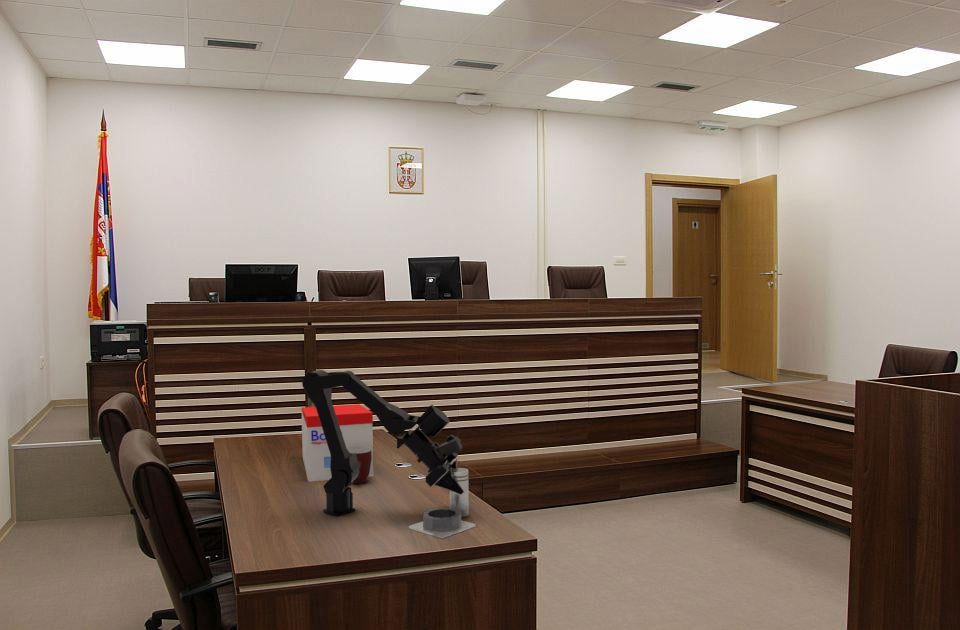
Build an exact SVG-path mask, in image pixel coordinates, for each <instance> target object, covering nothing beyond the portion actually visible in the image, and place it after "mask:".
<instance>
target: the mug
mask: <svg viewBox="0 0 960 630" xmlns="http://www.w3.org/2000/svg"><path fill="white" fill-rule="evenodd" d="M348 451H349V452H350V454H351V455H352V454H354V453H356V455H357V461H358V463H359V464H360V467H359V474H358V476H357V478H356V479H355V480H354V481H353V483H352V484H355V485H356V484H357V485H359V484H360V485H361V484H365V483H366V481H367V479H368V478H369V477H368V476H369V473H370V466H371V459H372V452H371V449H369V448H353V449H348Z"/></svg>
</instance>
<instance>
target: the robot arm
mask: <svg viewBox="0 0 960 630" xmlns="http://www.w3.org/2000/svg"><path fill="white" fill-rule="evenodd" d="M301 385H302V388H303V390H304V392H305V394H306V396H307V399H308V398H309V399H310V400H311V401H312V402H313V404H314V405H315V407H316V410H317V413H318V416H319V419H320V423H321V426H322V429H323V432H324V435H325V438H326V442H327V445H328V448H329V451H330V454H331V462H330V469H331V476H332V478H331V479H330V480H327V481H326V482H325V483H324V485H323V490H324V492H325V498H326V501H325V502H326V503H325V504H326V508H324V509H323V510H322V512H324V513H326V514H329V515H332V516H336V517H339V516H341V515H346V514H348V513H352V512H355V511H356V508H354V507H353V506H354V498H353V495H354V493H353V492H352V487H351V486H352V485H353V484H354V483H353V481H354V480H355V479H356V478H357V476H358V474H359V467H360V464H359V463H358V461H357V455H356V453H354V454H352V455H351V454H350V452H349V451H348V450H347V448H346V445H345V442H344V439H343V436H342V432H341V429H340V426H339V423H338V420H337V417H336V413H335V410H334V407H333V406H334V404H333V401H332V393H333V389H335V388H339V387H341V388H344V389H345V390H346V391H347V392H349V393H350V394H351V395H352V396H353V397H354V398H355V399H357V400H358V401H360V403H362V404H363V406H364V407H365V408H367V409H368V410H369V411H371V412H372V413H374V414H375V416H376V417H377V418H378V420H379V422H380V424H381V425H382V427H383V428H384V429H385V430H386V431H387V432H388V433H389V434H390V435H392V436H397V437H396V449H398V450H399V449H400V448H401V447H403V445H404V446H406V447H407V449H408V450H409V451H410V452H411V453H413V455H414V456H415V457H416V458H417V460H416V461H417V462H418V463H419V464H420V463H421V464H423V465H424V466H425V467H426V469H428V471H427V475H426V476H425V483H426V485H428V486H429V487H430V488H432V487H433V485H434V486H436V487H440V488H442V489H445V490H449V491H450V490H451V491H453V492H456V493H459V494H462V493H463V492H464V491H463V489H462V488H461V486H460V485H459V484H458V482H457V481H456V479H455V478H454V477H453V475H452V469H453V468H458V459H457V457H458V456H459V454H458V453H459V452H461V451H462V449H463V445H462V442H461V441H462V440H461V439H460V438H459V437H458V436H455V434H451V435H448V436H446V442H443V443H441V444H439V443H438V442H437V441H434V442H433V441H432V440H431V439H430V437H436V436H437V435H438V434H439V433H440V432H441V431H442V430H443V429H445V428H446V426H447V425H448V424H449V423H450V419H449V417H448V415H446V413H445V412H444V411H442V410H441V409H439V408H437V407H435V406H434V404H430V405H429V406H428V407H427V408H426V410H425V411H424V412H423V413H422V414H421V415H420V416H418V415H413V414H409V413H408V412H407V411H405V410H404V409H402V408H400V407H399V406H397V405H395V404H392V403H390V402H388V401H386V400H385V399H384V398H382V397H381V396H380V395H379V394H378V393H377V392H375V391H374V390H373V389H372V388H371V387H370V386H368V385H367V384H366V383H364V382H363V380H361V379H360V378H359V377H357V375H355V373H354V372H353V371H352V370H345V371H329V372H328V371H325V370H323V369H316V370H314V371H310V372H309V373H308V372H307V373H306V374H305V375H304V377H303V378H302V381H301ZM417 425H418V426H417ZM416 426H417V427H416ZM414 427H416V428H415V429H414V430H413V428H414ZM406 430H407V432H406V433H404V432H405V431H406ZM403 433H404V435H402V436H399V435H401V434H403Z"/></svg>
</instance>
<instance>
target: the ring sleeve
mask: <svg viewBox="0 0 960 630" xmlns="http://www.w3.org/2000/svg"><path fill="white" fill-rule="evenodd" d="M475 527H476V523H473V522H468V521H465V520H463V519H462V517H461V512H460V511H459V510H456V509H452V508H450V507H438V508H436V507H435V508H431V509H427V510H425V511H424V512H423V513H422V521H420V522H417V523H414V524H411V525H408V529H410V530H413V531H416V532H419V533H422V534H426V535H429V536H432V537H435V538H437V539H445V538H448V537H452V536H453V535H456V534H459V533H461V532H464V531H468V530H470V529H473V528H475Z"/></svg>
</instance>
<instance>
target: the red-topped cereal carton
mask: <svg viewBox="0 0 960 630" xmlns="http://www.w3.org/2000/svg"><path fill="white" fill-rule="evenodd" d="M333 407H334V410H335V413H336V417H337V420H338V423H339V426H340V429H341V432H342V436H343V439H344V442H345V445H346V448H347V450H348V449H353V448H369V449H371V452H372V459H371V466H370V473H369V476H368V478H370V477H374V447H373V445H374V444H373V443H374V442H373V434H374V433H373V424H374V423H373V422H374V415H373V413H374V412H372V411H371V410H370V409H369V408H367V407H366V406H364V405H361V404H360V403H358V404H357V403H356V404H342V405H341V404H339V405H333ZM300 408H301V409H300V410H301V435H302V436H301V438H302V439H301V444H302V447H301V448H302V449H301V450H302V461H303V465H304V469H305V473H306V478H307V482H322V481H323V482H324V481H329V480H330V479H331V478H332V476H331V469H330V462H331V454H330V451H329V448H328V445H327V442H326V438H325V435H324V432H323V429H322V426H321V423H320V419H319V416H318V413H317V410H316V407H308V406H303V407H300Z"/></svg>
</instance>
